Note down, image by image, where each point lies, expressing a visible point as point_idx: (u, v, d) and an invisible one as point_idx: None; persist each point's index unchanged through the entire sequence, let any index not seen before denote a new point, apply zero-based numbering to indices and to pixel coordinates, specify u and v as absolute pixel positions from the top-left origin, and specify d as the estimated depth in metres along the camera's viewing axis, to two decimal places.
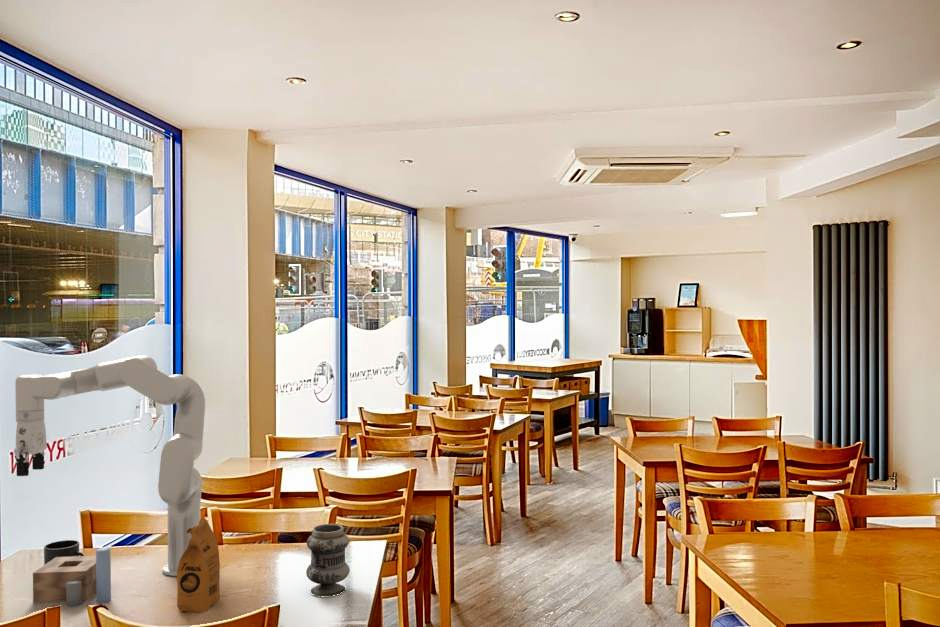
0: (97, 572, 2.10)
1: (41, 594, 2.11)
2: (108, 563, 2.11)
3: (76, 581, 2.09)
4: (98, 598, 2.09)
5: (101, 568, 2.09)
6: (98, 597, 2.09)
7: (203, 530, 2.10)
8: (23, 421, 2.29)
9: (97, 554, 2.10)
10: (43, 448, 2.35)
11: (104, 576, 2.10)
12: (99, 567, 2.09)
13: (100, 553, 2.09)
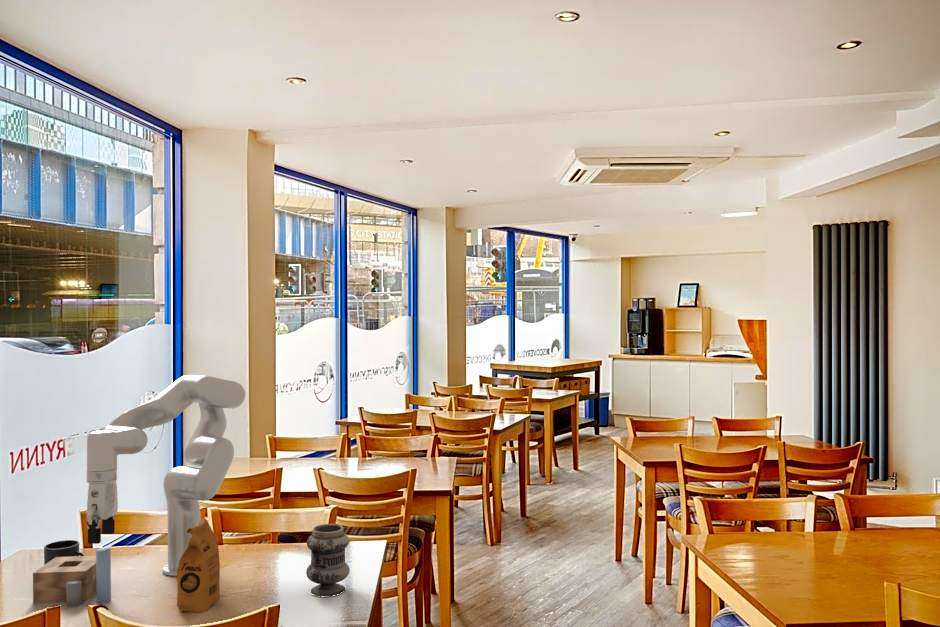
0: (97, 572, 2.10)
1: (41, 594, 2.11)
2: (108, 563, 2.11)
3: (76, 581, 2.09)
4: (98, 598, 2.09)
5: (101, 568, 2.09)
6: (98, 597, 2.09)
7: (203, 530, 2.10)
8: (95, 482, 2.07)
9: (97, 554, 2.10)
10: (115, 511, 2.13)
11: (104, 576, 2.10)
12: (99, 567, 2.09)
13: (100, 553, 2.09)
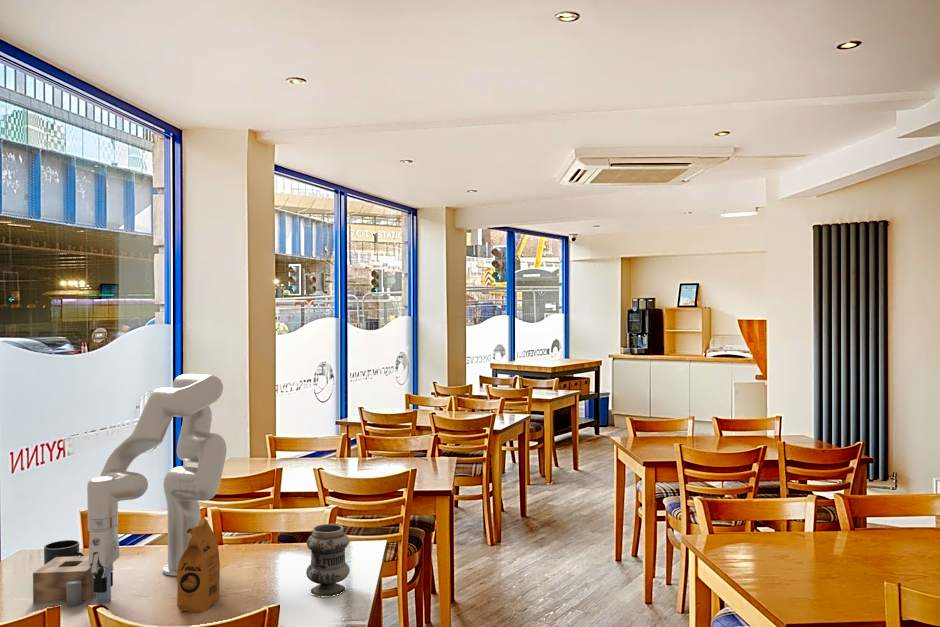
0: None
1: (41, 594, 2.11)
2: None
3: (76, 581, 2.09)
4: (98, 598, 2.09)
5: None
6: (98, 597, 2.09)
7: (203, 530, 2.10)
8: (96, 530, 2.07)
9: None
10: (116, 557, 2.14)
11: None
12: None
13: None
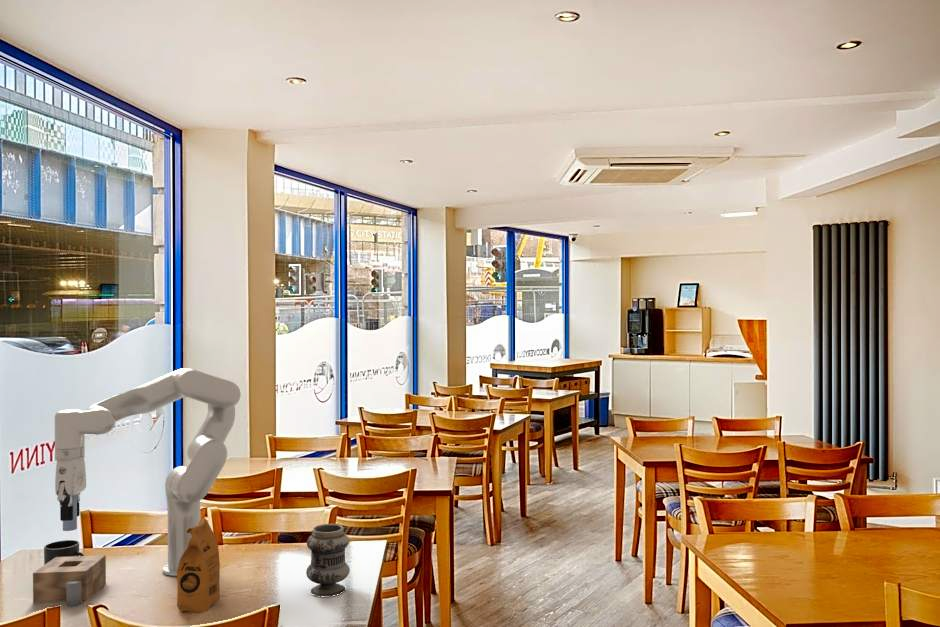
0: None
1: (41, 594, 2.11)
2: None
3: (76, 581, 2.09)
4: (64, 526, 2.16)
5: (67, 497, 2.16)
6: (64, 525, 2.16)
7: (203, 530, 2.10)
8: (63, 460, 2.14)
9: None
10: (83, 488, 2.20)
11: None
12: None
13: None
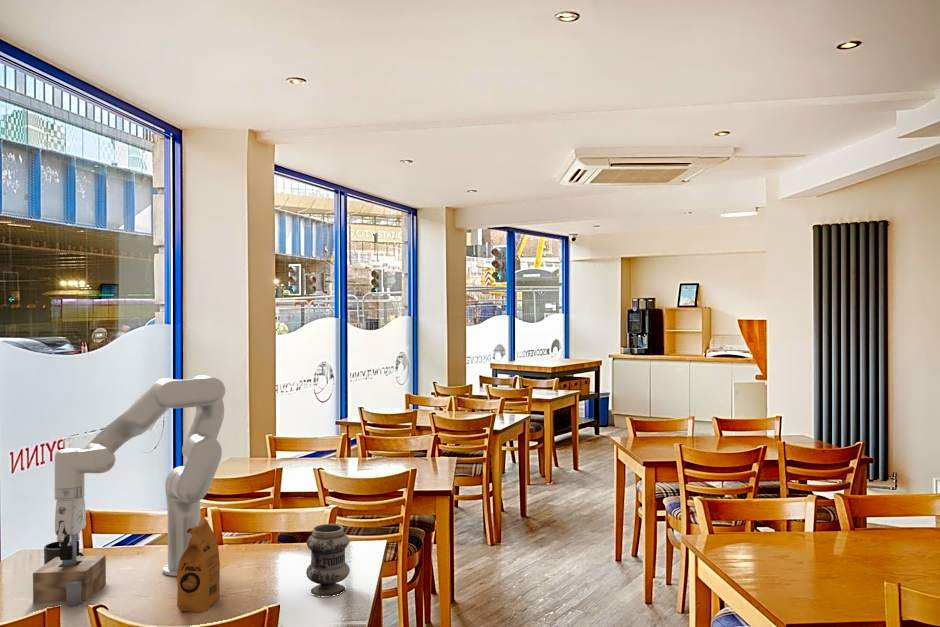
0: None
1: (41, 594, 2.11)
2: None
3: (76, 581, 2.09)
4: (64, 565, 2.16)
5: None
6: (64, 564, 2.16)
7: (203, 530, 2.10)
8: (63, 499, 2.14)
9: None
10: (83, 526, 2.20)
11: None
12: None
13: None
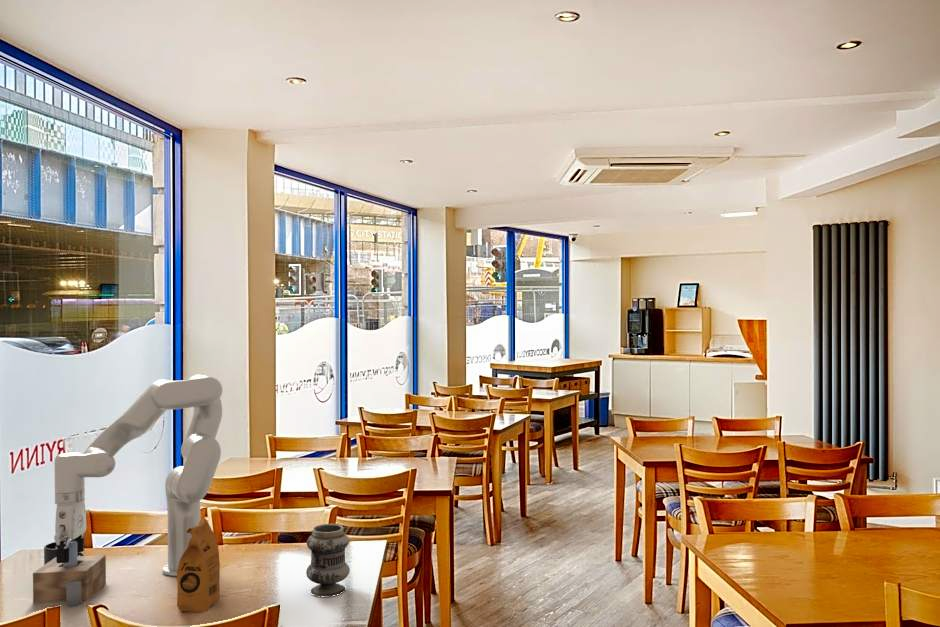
0: (64, 564, 2.16)
1: (41, 594, 2.11)
2: (75, 556, 2.17)
3: (76, 581, 2.09)
4: None
5: None
6: None
7: (203, 530, 2.10)
8: (63, 504, 2.14)
9: None
10: (83, 530, 2.20)
11: None
12: None
13: None
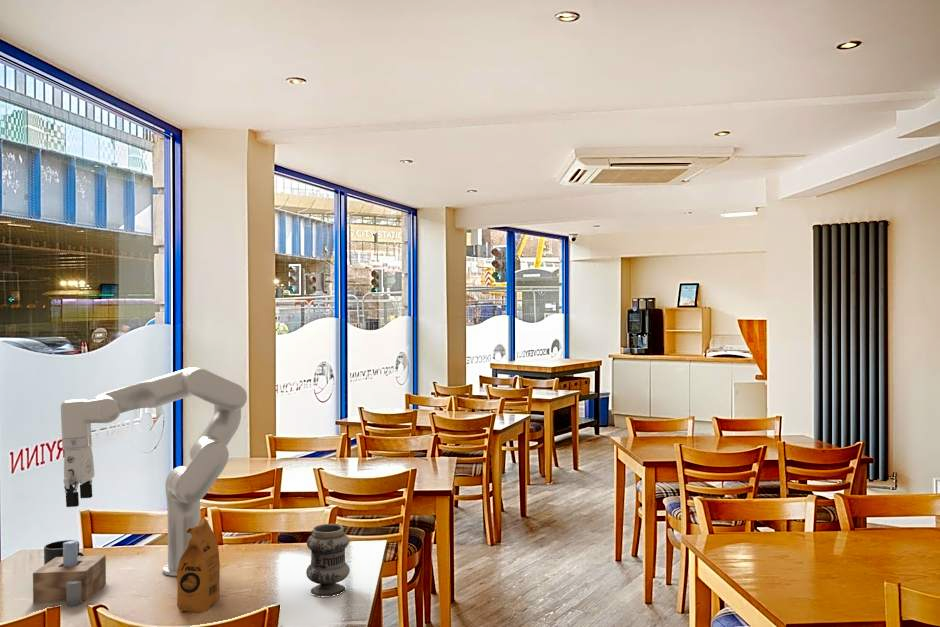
0: (64, 564, 2.16)
1: (41, 594, 2.11)
2: (75, 556, 2.17)
3: (76, 581, 2.09)
4: None
5: (68, 560, 2.16)
6: None
7: (203, 530, 2.10)
8: (71, 449, 2.16)
9: (64, 547, 2.16)
10: (91, 476, 2.23)
11: None
12: (66, 560, 2.16)
13: (67, 545, 2.16)
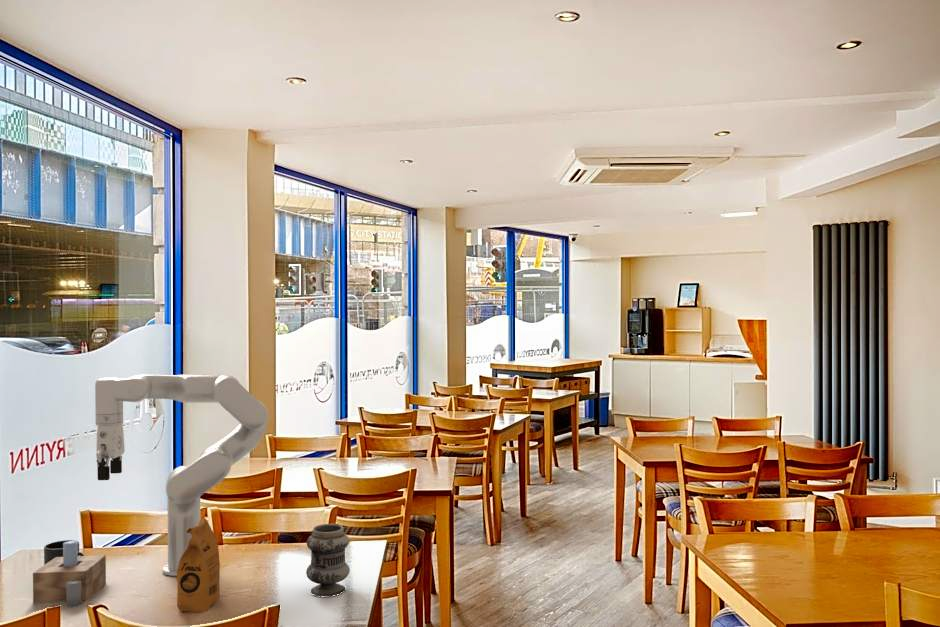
0: (64, 564, 2.16)
1: (41, 594, 2.11)
2: (75, 556, 2.17)
3: (76, 581, 2.09)
4: None
5: (68, 560, 2.16)
6: None
7: (203, 530, 2.10)
8: (104, 424, 2.26)
9: (64, 547, 2.16)
10: (122, 452, 2.32)
11: None
12: (66, 560, 2.16)
13: (67, 545, 2.16)
